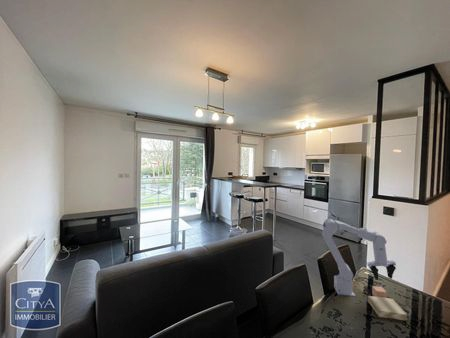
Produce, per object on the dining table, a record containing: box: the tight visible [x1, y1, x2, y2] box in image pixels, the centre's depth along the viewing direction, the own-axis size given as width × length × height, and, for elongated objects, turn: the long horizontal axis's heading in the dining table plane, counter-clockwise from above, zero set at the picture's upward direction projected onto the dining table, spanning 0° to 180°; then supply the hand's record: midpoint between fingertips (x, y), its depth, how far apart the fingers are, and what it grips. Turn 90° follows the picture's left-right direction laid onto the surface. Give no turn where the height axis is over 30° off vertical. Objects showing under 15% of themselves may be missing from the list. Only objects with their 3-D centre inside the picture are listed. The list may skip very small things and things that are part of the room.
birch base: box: [367, 295, 408, 321], centre depth 103 cm, size 12×12×3 cm
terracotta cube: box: [371, 285, 388, 298], centre depth 114 cm, size 5×5×5 cm
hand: (383, 278), depth 113 cm, fingers open, 7 cm apart
